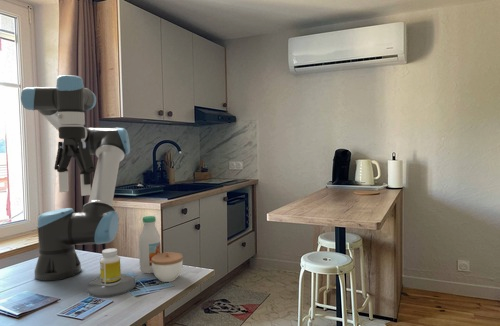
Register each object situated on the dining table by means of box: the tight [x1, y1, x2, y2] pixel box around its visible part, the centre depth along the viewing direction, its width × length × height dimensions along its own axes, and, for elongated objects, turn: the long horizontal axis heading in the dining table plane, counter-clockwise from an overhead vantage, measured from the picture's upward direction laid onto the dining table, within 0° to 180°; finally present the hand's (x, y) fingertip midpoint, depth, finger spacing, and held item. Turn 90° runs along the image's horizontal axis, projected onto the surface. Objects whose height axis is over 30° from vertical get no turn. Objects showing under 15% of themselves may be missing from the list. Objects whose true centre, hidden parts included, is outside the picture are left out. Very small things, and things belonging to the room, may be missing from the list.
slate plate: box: [86, 274, 137, 298], centre depth 123 cm, size 15×15×2 cm
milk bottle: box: [138, 215, 162, 274], centre depth 139 cm, size 8×8×20 cm
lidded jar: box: [151, 251, 184, 283], centre depth 130 cm, size 11×11×9 cm
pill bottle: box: [99, 247, 122, 286], centre depth 123 cm, size 6×6×11 cm
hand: (74, 193), depth 119 cm, fingers open, 13 cm apart
